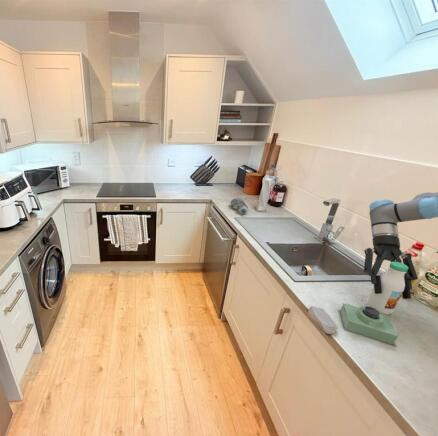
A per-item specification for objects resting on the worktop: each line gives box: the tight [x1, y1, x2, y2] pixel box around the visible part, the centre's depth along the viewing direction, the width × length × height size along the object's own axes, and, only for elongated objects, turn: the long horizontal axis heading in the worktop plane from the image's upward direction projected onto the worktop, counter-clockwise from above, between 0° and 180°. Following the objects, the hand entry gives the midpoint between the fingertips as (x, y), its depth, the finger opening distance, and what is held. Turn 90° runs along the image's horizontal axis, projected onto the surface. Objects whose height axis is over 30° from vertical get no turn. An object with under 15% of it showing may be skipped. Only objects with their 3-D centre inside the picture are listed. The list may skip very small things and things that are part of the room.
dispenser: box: [339, 302, 399, 345], centre depth 85 cm, size 13×10×6 cm
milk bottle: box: [365, 261, 408, 315], centre depth 88 cm, size 8×8×20 cm
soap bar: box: [307, 305, 339, 335], centre depth 87 cm, size 10×6×6 cm, turn 174°
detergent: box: [230, 197, 249, 215], centre depth 191 cm, size 13×7×25 cm
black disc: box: [363, 306, 381, 319], centre depth 84 cm, size 4×4×2 cm
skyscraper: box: [255, 174, 274, 213], centre depth 188 cm, size 8×8×28 cm
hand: (392, 295), depth 86 cm, fingers closed on milk bottle, 8 cm apart
